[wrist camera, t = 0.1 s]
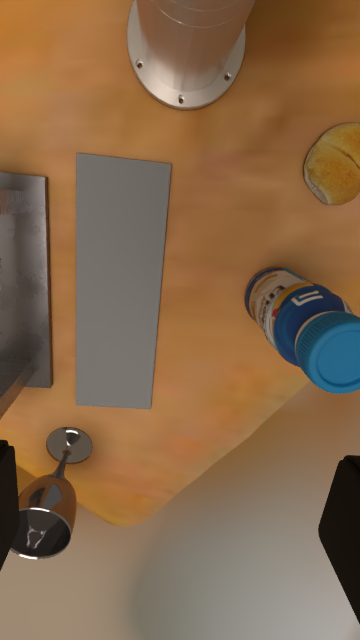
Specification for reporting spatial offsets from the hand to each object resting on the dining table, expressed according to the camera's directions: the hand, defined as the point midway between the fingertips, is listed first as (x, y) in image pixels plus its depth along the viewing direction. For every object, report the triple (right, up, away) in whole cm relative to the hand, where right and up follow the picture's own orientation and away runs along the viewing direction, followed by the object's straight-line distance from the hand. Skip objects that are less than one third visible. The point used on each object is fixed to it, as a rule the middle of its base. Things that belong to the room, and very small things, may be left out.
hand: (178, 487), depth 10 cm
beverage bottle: (+13, +8, +37) cm, 40 cm away
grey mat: (-8, +8, +36) cm, 37 cm away
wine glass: (-17, -15, +44) cm, 49 cm away
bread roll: (+20, +24, +32) cm, 44 cm away
